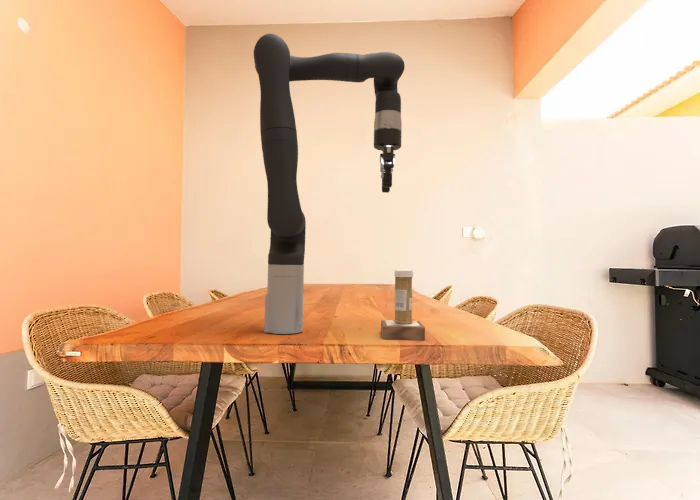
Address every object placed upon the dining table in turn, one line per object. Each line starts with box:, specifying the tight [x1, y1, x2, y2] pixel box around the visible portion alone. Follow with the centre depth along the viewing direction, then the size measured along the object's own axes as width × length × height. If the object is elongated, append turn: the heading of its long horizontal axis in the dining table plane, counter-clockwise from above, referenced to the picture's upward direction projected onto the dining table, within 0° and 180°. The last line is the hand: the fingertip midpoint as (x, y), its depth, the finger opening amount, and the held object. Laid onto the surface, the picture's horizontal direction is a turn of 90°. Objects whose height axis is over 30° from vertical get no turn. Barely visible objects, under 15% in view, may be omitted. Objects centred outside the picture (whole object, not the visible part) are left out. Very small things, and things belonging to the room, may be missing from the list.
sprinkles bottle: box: [394, 268, 414, 324], centre depth 103 cm, size 5×5×14 cm
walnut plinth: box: [380, 319, 426, 341], centre depth 103 cm, size 10×10×3 cm
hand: (386, 189), depth 112 cm, fingers open, 8 cm apart
